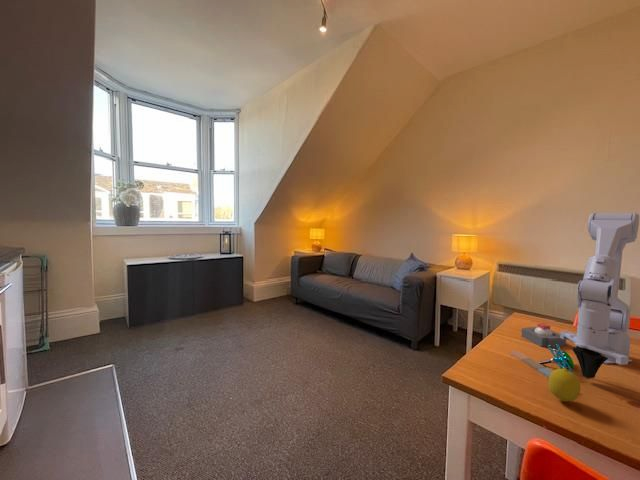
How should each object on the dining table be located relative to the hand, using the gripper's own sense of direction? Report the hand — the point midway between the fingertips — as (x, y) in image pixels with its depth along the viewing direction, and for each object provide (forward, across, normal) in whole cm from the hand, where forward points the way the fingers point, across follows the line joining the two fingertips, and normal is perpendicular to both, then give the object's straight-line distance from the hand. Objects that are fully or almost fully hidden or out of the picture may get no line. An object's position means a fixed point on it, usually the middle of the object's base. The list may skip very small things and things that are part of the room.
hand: (588, 376), depth 73 cm
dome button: (+1, -23, +10) cm, 25 cm away
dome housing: (+1, -23, +10) cm, 25 cm away
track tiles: (+1, -9, -7) cm, 11 cm away
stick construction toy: (+2, -8, -1) cm, 8 cm away
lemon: (+2, +6, -14) cm, 15 cm away
